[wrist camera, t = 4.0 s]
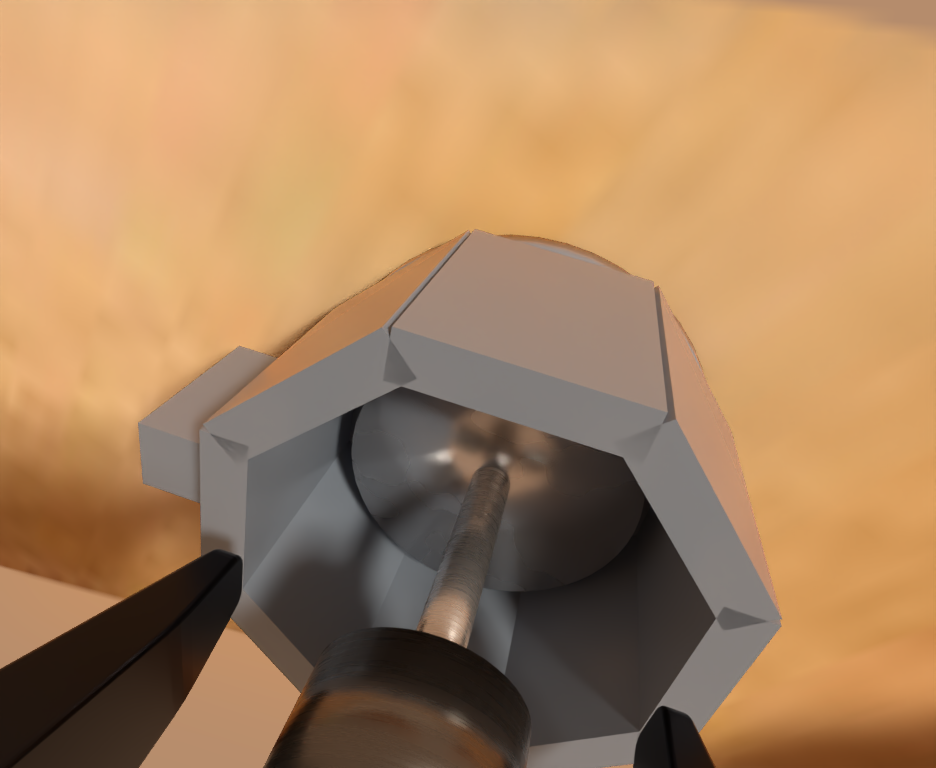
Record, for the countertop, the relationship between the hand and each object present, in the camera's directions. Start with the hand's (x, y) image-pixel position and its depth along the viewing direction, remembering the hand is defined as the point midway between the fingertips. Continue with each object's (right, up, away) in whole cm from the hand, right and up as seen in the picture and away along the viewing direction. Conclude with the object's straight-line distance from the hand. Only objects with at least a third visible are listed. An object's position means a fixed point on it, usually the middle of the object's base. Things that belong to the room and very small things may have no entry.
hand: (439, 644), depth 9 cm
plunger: (+1, +2, +4) cm, 5 cm away
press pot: (+1, +3, +5) cm, 6 cm away
